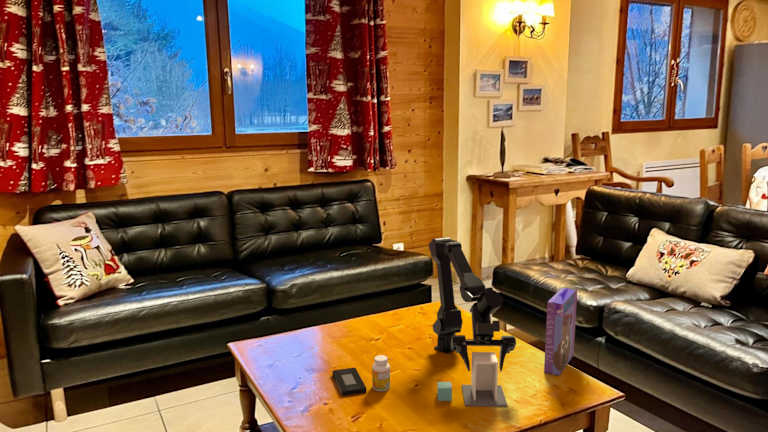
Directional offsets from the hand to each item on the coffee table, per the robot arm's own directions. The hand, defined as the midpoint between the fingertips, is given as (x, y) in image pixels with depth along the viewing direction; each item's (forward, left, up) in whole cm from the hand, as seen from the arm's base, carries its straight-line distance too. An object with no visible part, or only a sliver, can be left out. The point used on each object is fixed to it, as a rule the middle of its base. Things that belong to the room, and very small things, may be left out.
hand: (485, 371), depth 171 cm
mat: (-1, -1, -9) cm, 9 cm away
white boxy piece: (-1, -1, -8) cm, 8 cm away
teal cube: (+7, -9, -9) cm, 14 cm away
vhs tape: (+20, -36, -9) cm, 43 cm away
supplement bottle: (+15, -27, -9) cm, 32 cm away
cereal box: (-36, +6, -9) cm, 37 cm away
